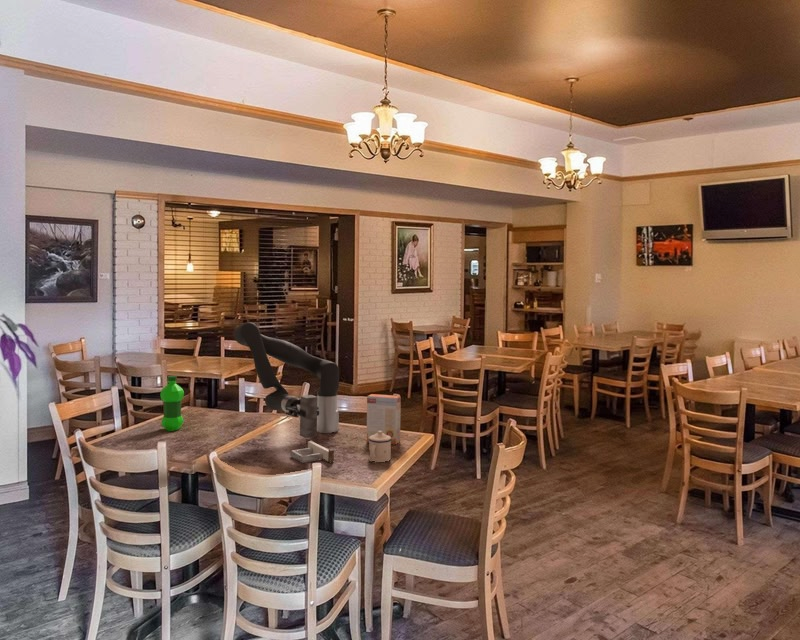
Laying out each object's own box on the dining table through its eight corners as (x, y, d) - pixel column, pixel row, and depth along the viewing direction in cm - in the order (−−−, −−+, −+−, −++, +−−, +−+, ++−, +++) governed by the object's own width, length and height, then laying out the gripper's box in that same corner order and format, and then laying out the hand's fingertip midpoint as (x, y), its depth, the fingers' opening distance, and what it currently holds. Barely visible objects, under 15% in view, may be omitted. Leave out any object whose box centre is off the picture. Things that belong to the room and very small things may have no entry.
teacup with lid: (373, 455, 254) (374, 427, 253) (394, 458, 250) (394, 429, 250) (361, 463, 243) (361, 434, 242) (382, 466, 239) (383, 436, 238)
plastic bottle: (160, 432, 284) (159, 378, 282) (162, 427, 294) (161, 375, 292) (183, 431, 286) (182, 378, 285) (184, 426, 296) (184, 374, 295)
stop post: (311, 433, 252) (311, 394, 250) (316, 436, 247) (317, 397, 246) (299, 435, 249) (300, 395, 248) (305, 438, 245) (306, 398, 243)
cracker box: (400, 442, 275) (401, 395, 273) (396, 445, 269) (396, 398, 268) (371, 439, 279) (371, 393, 278) (366, 442, 274) (366, 395, 272)
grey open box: (309, 449, 260) (309, 438, 260) (333, 462, 243) (333, 450, 242) (285, 453, 254) (285, 441, 254) (308, 467, 237) (309, 454, 236)
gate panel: (307, 450, 258) (307, 441, 258) (313, 450, 259) (313, 440, 259) (328, 461, 243) (328, 451, 243) (333, 460, 245) (333, 450, 245)
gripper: (277, 398, 255) (295, 406, 241) (308, 395, 263) (328, 402, 249) (277, 416, 255) (295, 425, 241) (308, 412, 264) (327, 421, 250)
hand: (311, 413), depth 245 cm, fingers closed on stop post, 5 cm apart
